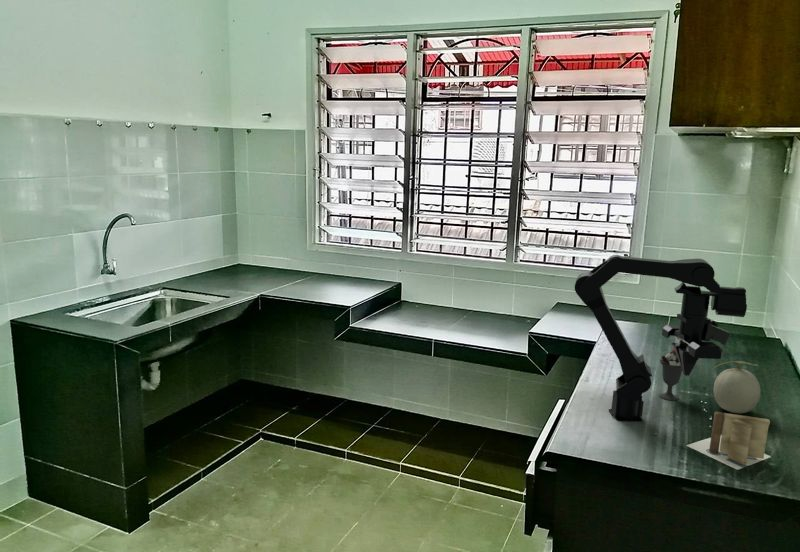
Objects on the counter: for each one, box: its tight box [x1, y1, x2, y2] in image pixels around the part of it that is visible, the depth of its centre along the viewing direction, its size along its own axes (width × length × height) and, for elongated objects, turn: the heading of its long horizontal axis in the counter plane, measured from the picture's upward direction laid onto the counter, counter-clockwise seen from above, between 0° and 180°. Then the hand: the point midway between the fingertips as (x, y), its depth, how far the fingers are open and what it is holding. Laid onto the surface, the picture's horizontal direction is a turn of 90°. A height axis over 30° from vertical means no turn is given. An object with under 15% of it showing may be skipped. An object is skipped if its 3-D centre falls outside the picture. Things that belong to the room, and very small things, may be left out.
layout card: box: [686, 434, 772, 471], centre depth 134 cm, size 12×12×1 cm
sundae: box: [658, 349, 683, 402], centre depth 163 cm, size 7×7×15 cm
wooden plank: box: [709, 411, 753, 465], centre depth 130 cm, size 8×2×9 cm, turn 29°
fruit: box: [712, 360, 761, 415], centre depth 156 cm, size 10×12×15 cm
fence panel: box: [720, 412, 771, 459], centre depth 131 cm, size 9×1×9 cm, turn 72°
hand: (686, 375), depth 145 cm, fingers closed
